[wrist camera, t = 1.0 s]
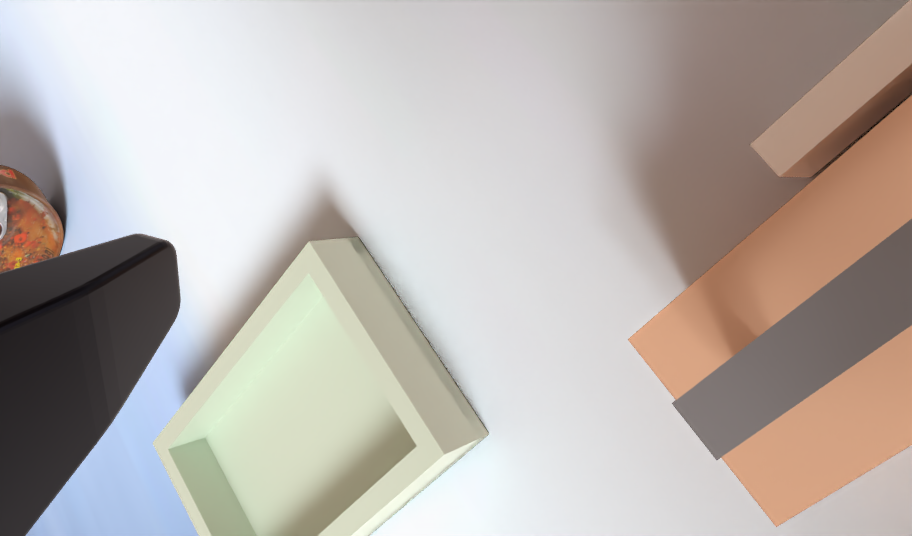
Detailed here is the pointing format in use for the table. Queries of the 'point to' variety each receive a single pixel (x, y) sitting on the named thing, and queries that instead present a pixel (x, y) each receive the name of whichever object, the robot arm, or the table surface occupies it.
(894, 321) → the tall peach cuboid
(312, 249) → the tray
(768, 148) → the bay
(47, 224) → the tin
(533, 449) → the table surface
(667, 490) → the table surface
